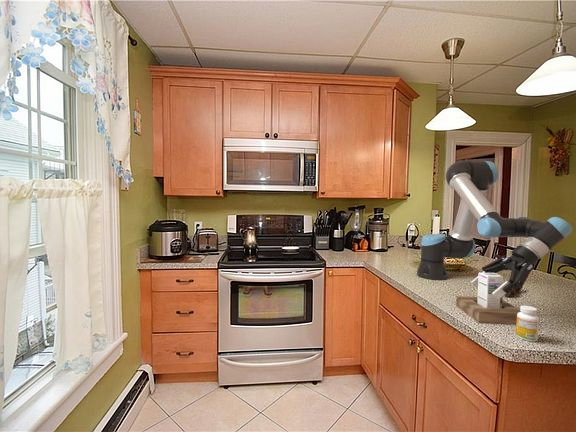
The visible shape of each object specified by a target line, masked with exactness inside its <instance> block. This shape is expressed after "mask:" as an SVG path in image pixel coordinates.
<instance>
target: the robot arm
mask: <svg viewBox="0 0 576 432" xmlns="http://www.w3.org/2000/svg"><path fill="white" fill-rule="evenodd" d="M498 178H499V170H498V167H497V165H496V164H495V163H494V162H492V161H491V160H490V161H489V160H488V161H487V160H458V161H455V162H453V163H452V164H451V165H450V166H448V168H447V170H446V173H445V180H446V184H448V186H449V187H450V189H452V190H455V192H456V193H457V194H458V196H459V197H460V198H461V199H460V203H459V207H458V210H457V212H456V217H455V221H454V224H453V225H454V226H453V228H452V230H450V231H449V232H448V235H447V236H446V235H445V234H443V233H437V234H436V233H430V234H425V235H423V236H422V238H421V243H420V245H421V246H420V262H419V265H418V268H417V269H416V276H417V277H418V278H419V277H420V278H422V279H427V280H435V281H437V280H438V281H441V280H443V281H444V280H447V278H448V273H447V269H446V267H445V259H466V258H470V257H471V256H472V255H473V254H474V253H475V250H476V241H475V240H474V239H473V238H474V236H473V235H472V234H471V233H472V230H473V227H474V226H475V225H474V224H475V222H476V220H477V221H478V222H477V224H476V229H477V232H478V234H479V235H480V236H482V237H489V238H525V239H524V240H523V241H522V242H520V244H519V245H516V247H515V248H513V249H512V250H511V256H507V255H506V254H504V255H502V256H501V257H500V258H497V259H496V260H494V261H492V262H490V263H488V264H485V265H484V266H483V267H481V270H482V272H481V273H497V274H498V273H499V272H502V271H510V275H509V276H510V277H509V279H507V280H506V281H505V282H503V284H502V285H501V286H500V287H499V288H498V289H496V290H495V291H494V292H493V293H492V294H493V295H494V296H495V297H496V298H497V299H498V300H499V299H500V298H501V297H502V296H503V297H504V295H505V294H506V293H507V292H509V291H510V290H511V289H513V288H514V287H519V288H522V287H524V284H525V282H526V281H527V279H528V277H529V275H530V273H531V272H532V271H533V270H535V267H534V266H533V265H534V264H536V263H537V262H538V261H539V259H542V258H543V257H544V256H545V255H546V254H548V253H549V252H550V251H551V250H552V249H553V248H555V246H557V245H558V244H559V243H561V242H562V241H563V240H565V239H566V237H568V236H569V235H570V234H571V233H572V231H573V227H572V225H571V224H570V223H569V222H568V221H566V220H565V219H563V218H561V217H559V216H552V217H550V218H549V219H547V220H546V221H543V220H538V219H537V220H536V219H532V218H528V217H526V216H515V217H502V215H500V214H499V212H498V211H497V210H496V209H495V208H494V206H493V205H492V204H491V203H490V201H489V200H488V199H487V198H486V197H485V195H484V193H485V192H487V191H488V190H489V187H490V186H492V185H494V184H495V183H496V182H497V181H498ZM519 282H520V283H519ZM470 283H471V284H472V285H473V287H475V288H477V289H478V276H476V277H475V278H474V279H472V280H471V281H470ZM522 289H523V288H522Z"/></svg>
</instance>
